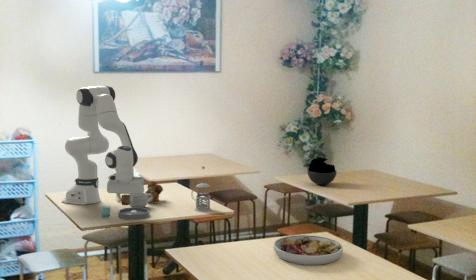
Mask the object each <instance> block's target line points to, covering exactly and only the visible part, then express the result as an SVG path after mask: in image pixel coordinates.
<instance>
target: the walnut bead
mask: <svg viewBox="0 0 476 280" xmlns="http://www.w3.org/2000/svg"><path fill="white" fill-rule="evenodd" d="M121 198H122V201H121V205H122V206H130V202H129V199H130V195H129V194H122V195H121Z"/></svg>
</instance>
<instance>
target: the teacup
mask: <svg viewBox="0 0 476 280" xmlns="http://www.w3.org/2000/svg"><path fill="white" fill-rule="evenodd" d="M128 195H130V198H131V197H132V196H131V194H128ZM149 195H150V196H151V198H150V199H149V200H148V201H147V198H148V196H149ZM152 197H153V196H152V194H147V193H145V192H144V193H143V194H135V196H134V197H133V202H130V205H129V206H130V207H141V208H146V206H147V205H148V204H149V203H148V202H149V201H151V200H152Z"/></svg>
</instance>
